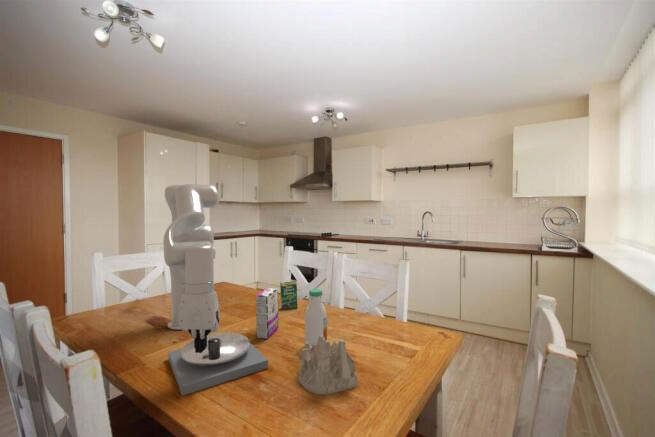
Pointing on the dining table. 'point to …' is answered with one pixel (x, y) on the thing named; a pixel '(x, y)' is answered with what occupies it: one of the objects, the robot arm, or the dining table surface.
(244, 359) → the grey base block
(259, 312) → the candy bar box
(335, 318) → the dining table surface
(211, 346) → the handwheel
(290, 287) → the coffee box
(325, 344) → the grey rough lump
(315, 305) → the milk bottle
